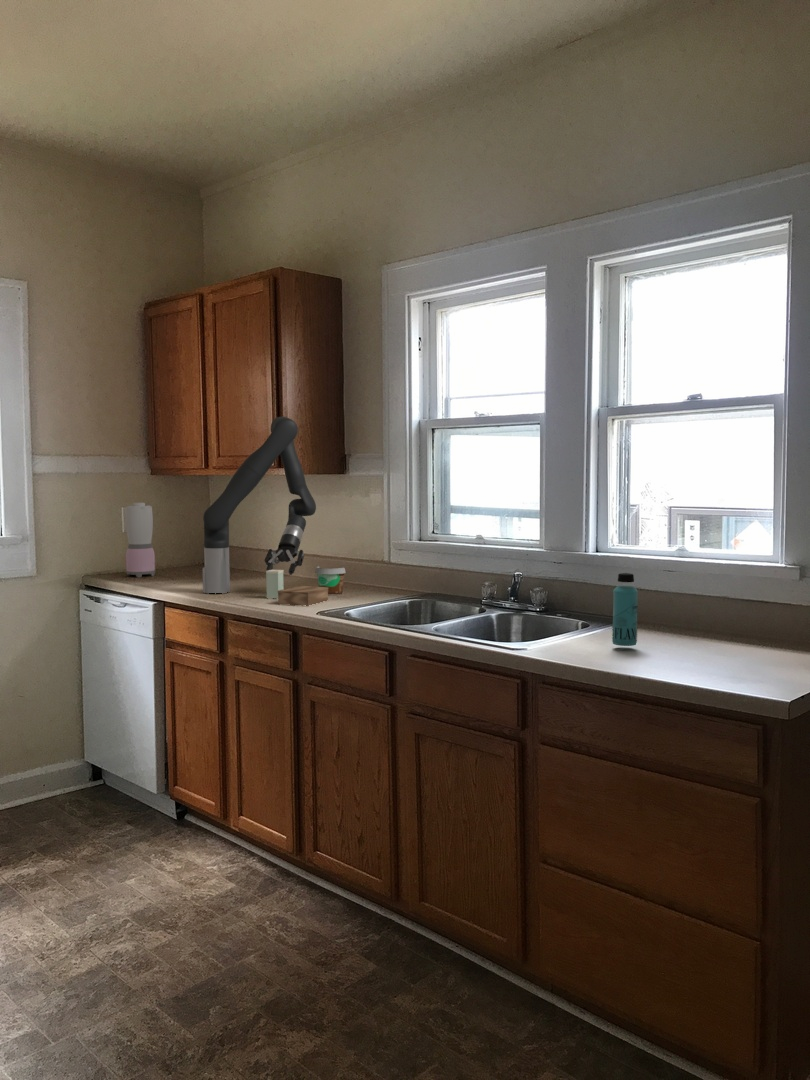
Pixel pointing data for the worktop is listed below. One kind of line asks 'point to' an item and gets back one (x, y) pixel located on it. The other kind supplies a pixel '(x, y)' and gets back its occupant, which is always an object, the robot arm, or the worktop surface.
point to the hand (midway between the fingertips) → (279, 573)
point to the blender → (139, 540)
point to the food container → (331, 579)
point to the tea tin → (274, 582)
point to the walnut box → (303, 595)
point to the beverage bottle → (625, 612)
